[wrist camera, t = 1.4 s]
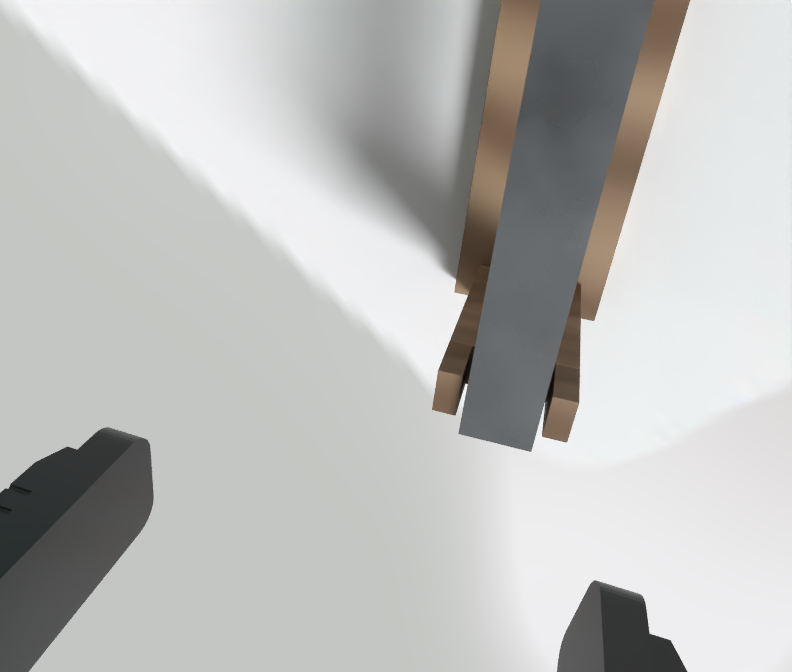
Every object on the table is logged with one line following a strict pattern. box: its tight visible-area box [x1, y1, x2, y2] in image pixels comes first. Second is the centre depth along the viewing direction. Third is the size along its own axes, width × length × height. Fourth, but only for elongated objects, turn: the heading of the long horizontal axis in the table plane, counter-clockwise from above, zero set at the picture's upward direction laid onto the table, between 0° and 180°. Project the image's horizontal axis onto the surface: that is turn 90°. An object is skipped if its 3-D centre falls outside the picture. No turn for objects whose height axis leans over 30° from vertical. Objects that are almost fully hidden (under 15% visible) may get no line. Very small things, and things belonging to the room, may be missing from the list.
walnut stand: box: [432, 0, 690, 442], centre depth 26 cm, size 19×8×13 cm, turn 174°
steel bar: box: [459, 0, 654, 452], centre depth 21 cm, size 20×3×3 cm, turn 174°
